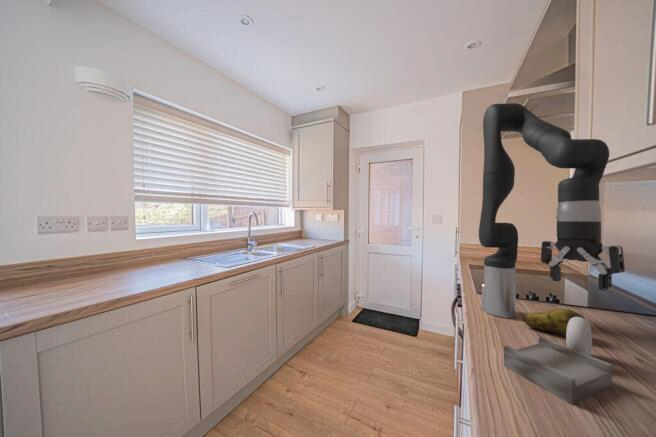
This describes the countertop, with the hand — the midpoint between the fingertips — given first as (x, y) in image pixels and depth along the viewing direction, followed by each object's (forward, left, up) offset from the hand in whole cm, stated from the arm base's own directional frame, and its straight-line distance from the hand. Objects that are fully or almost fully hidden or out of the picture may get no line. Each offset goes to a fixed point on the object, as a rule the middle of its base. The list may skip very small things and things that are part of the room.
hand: (578, 285), depth 57 cm
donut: (0, 0, -18) cm, 18 cm away
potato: (-10, +10, -18) cm, 23 cm away
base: (+2, -14, -18) cm, 23 cm away
